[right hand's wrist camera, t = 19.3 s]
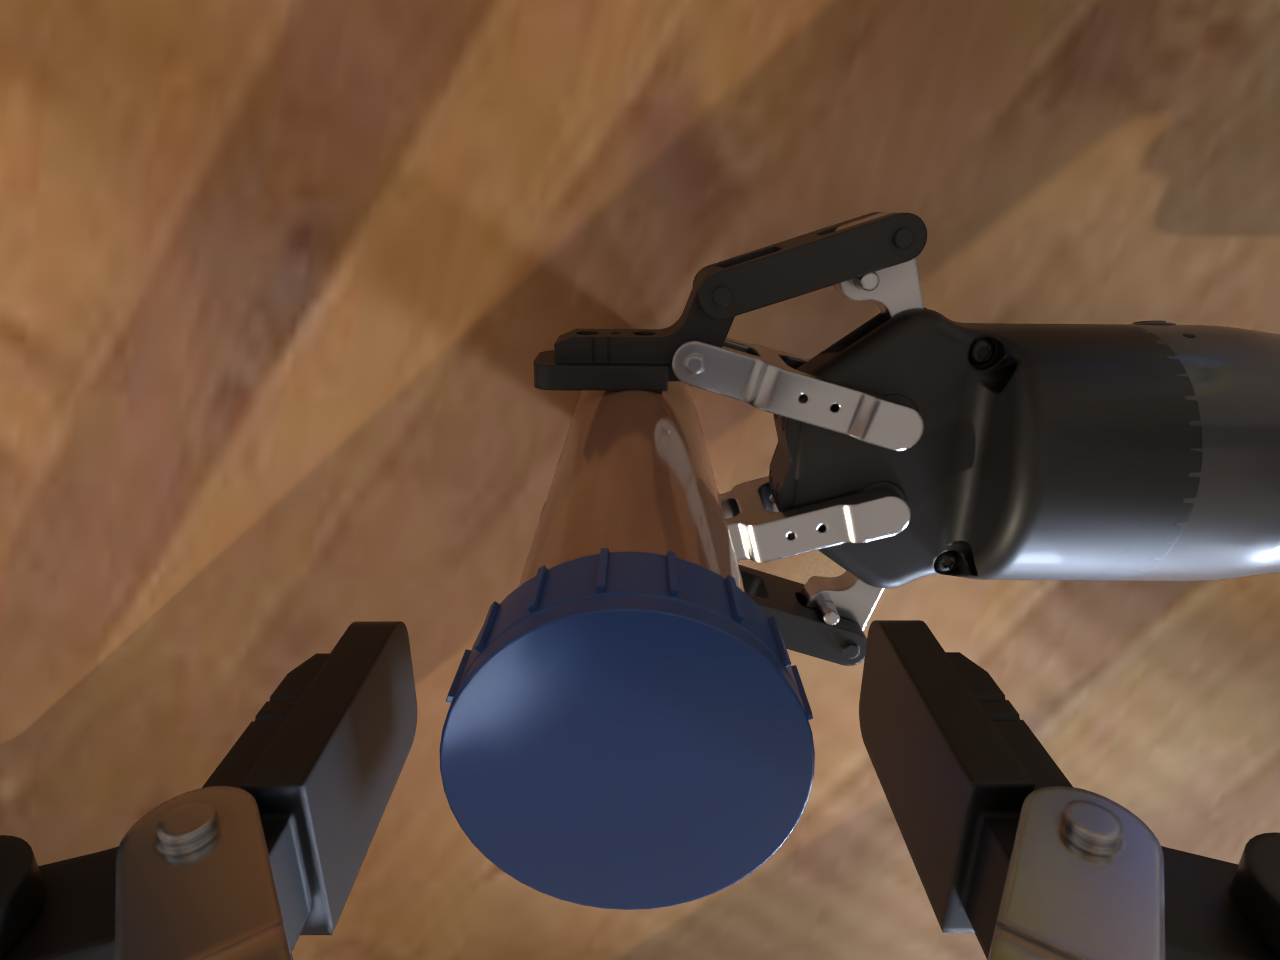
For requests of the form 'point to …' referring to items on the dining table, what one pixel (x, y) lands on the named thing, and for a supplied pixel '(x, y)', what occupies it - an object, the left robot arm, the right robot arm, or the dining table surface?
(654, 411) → the brown cylinder
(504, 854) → the lid
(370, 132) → the dining table surface
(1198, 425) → the left robot arm
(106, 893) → the right robot arm
